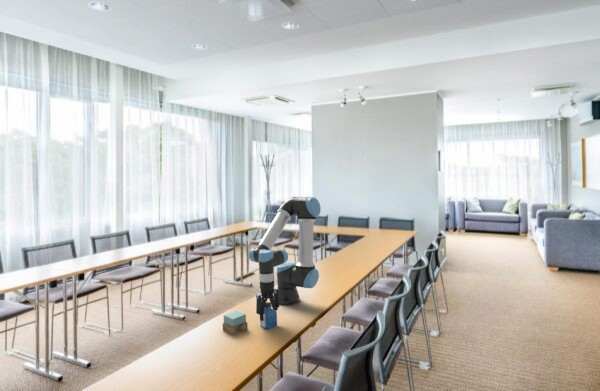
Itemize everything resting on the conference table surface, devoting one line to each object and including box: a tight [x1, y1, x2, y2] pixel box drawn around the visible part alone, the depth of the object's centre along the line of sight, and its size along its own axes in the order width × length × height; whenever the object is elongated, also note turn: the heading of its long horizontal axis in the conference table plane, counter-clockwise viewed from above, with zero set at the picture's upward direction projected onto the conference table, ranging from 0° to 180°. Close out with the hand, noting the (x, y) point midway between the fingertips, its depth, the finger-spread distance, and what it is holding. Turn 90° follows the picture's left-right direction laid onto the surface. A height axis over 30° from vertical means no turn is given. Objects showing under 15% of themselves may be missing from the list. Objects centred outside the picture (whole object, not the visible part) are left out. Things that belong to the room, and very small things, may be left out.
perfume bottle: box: [259, 301, 278, 330], centre depth 190 cm, size 6×6×12 cm
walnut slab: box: [222, 321, 249, 336], centre depth 187 cm, size 9×9×4 cm
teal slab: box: [223, 310, 247, 327], centre depth 187 cm, size 8×8×4 cm
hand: (268, 324), depth 190 cm, fingers closed on perfume bottle, 6 cm apart
